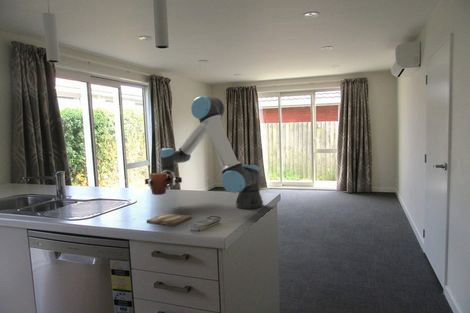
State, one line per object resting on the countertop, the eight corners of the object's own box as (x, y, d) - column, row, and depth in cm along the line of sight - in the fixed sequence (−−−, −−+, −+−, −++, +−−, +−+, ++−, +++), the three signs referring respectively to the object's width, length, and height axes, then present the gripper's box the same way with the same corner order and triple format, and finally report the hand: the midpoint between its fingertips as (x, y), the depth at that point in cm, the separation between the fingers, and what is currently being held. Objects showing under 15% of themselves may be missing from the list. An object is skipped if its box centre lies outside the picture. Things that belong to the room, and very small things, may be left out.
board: (191, 218, 163) (191, 215, 163) (174, 225, 151) (174, 222, 151) (165, 215, 170) (164, 212, 170) (146, 222, 158) (146, 219, 158)
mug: (148, 195, 163) (146, 175, 162) (152, 192, 172) (151, 172, 171) (172, 195, 163) (171, 174, 162) (175, 191, 171) (174, 172, 171)
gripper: (188, 182, 186) (186, 189, 164) (145, 185, 184) (137, 191, 162) (187, 169, 185) (185, 174, 164) (144, 171, 183) (136, 176, 162)
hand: (161, 183), depth 163 cm, fingers closed on mug, 11 cm apart
